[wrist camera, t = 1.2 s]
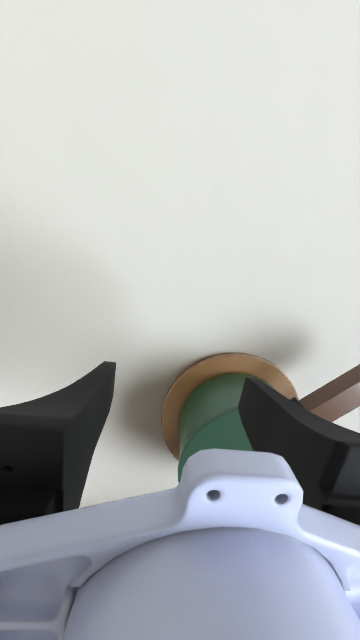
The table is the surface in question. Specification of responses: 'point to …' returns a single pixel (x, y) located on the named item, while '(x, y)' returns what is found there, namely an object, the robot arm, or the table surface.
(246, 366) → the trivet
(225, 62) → the table surface
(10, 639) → the robot arm
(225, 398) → the pot
